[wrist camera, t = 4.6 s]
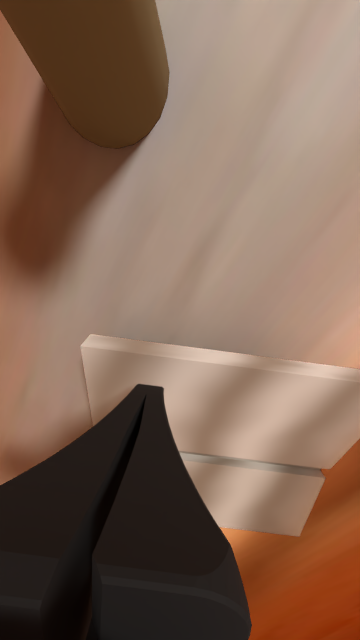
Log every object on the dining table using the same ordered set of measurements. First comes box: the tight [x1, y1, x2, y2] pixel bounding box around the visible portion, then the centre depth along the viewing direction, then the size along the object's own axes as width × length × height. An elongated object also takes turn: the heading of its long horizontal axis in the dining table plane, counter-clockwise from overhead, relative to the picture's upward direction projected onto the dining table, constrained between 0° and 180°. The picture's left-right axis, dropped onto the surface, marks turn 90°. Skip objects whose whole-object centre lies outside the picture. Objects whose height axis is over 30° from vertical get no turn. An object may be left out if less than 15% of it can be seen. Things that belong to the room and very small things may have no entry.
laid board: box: [178, 450, 326, 537], centre depth 17 cm, size 18×8×1 cm, turn 83°
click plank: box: [81, 334, 360, 469], centre depth 13 cm, size 18×9×1 cm, turn 83°
